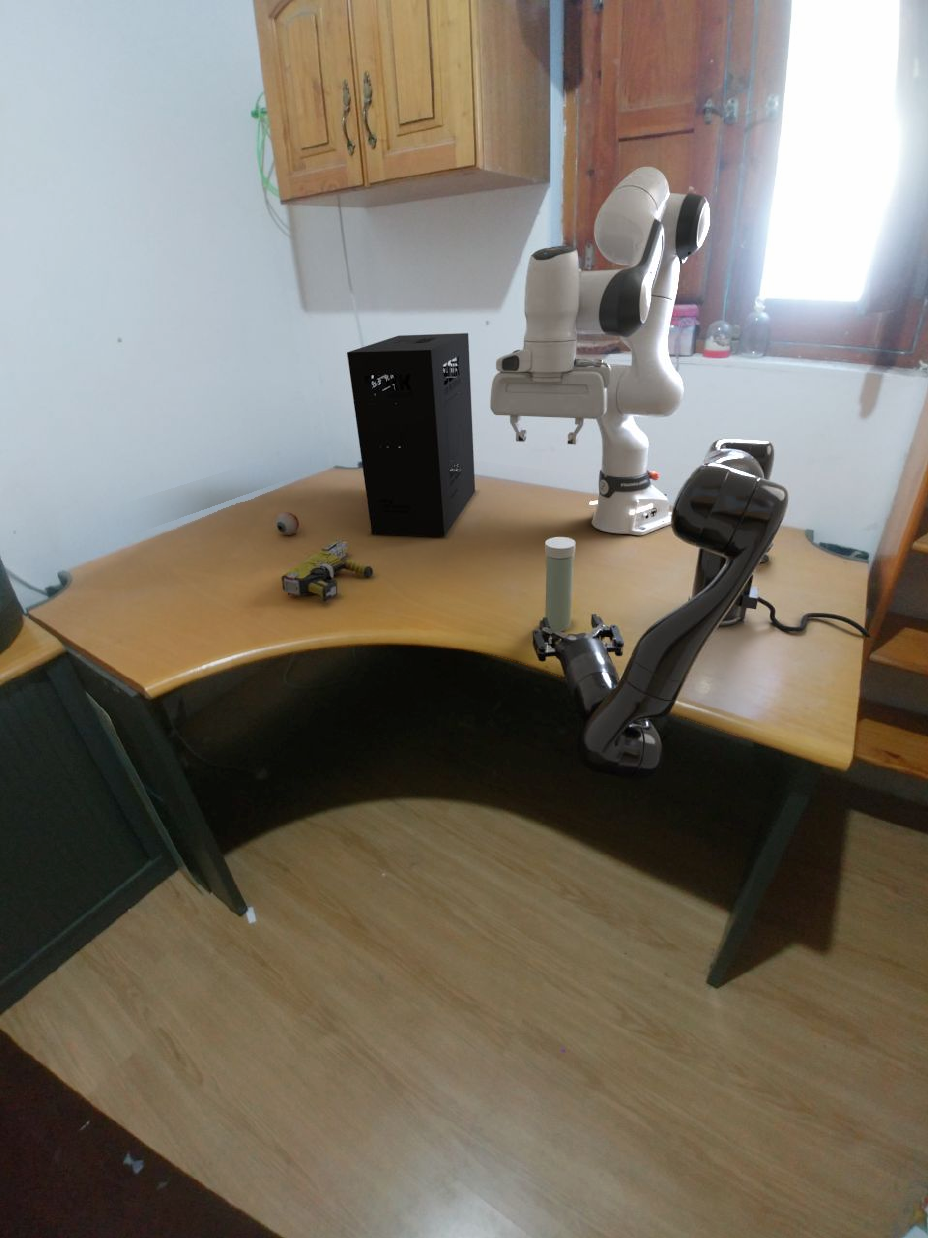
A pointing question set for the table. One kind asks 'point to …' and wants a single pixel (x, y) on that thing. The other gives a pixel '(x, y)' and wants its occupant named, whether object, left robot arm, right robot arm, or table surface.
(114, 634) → the table surface
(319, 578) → the toy gun
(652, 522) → the left robot arm
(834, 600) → the table surface
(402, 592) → the table surface
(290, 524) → the eyeball
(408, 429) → the black boxy piece
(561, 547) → the lid
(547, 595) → the jar
